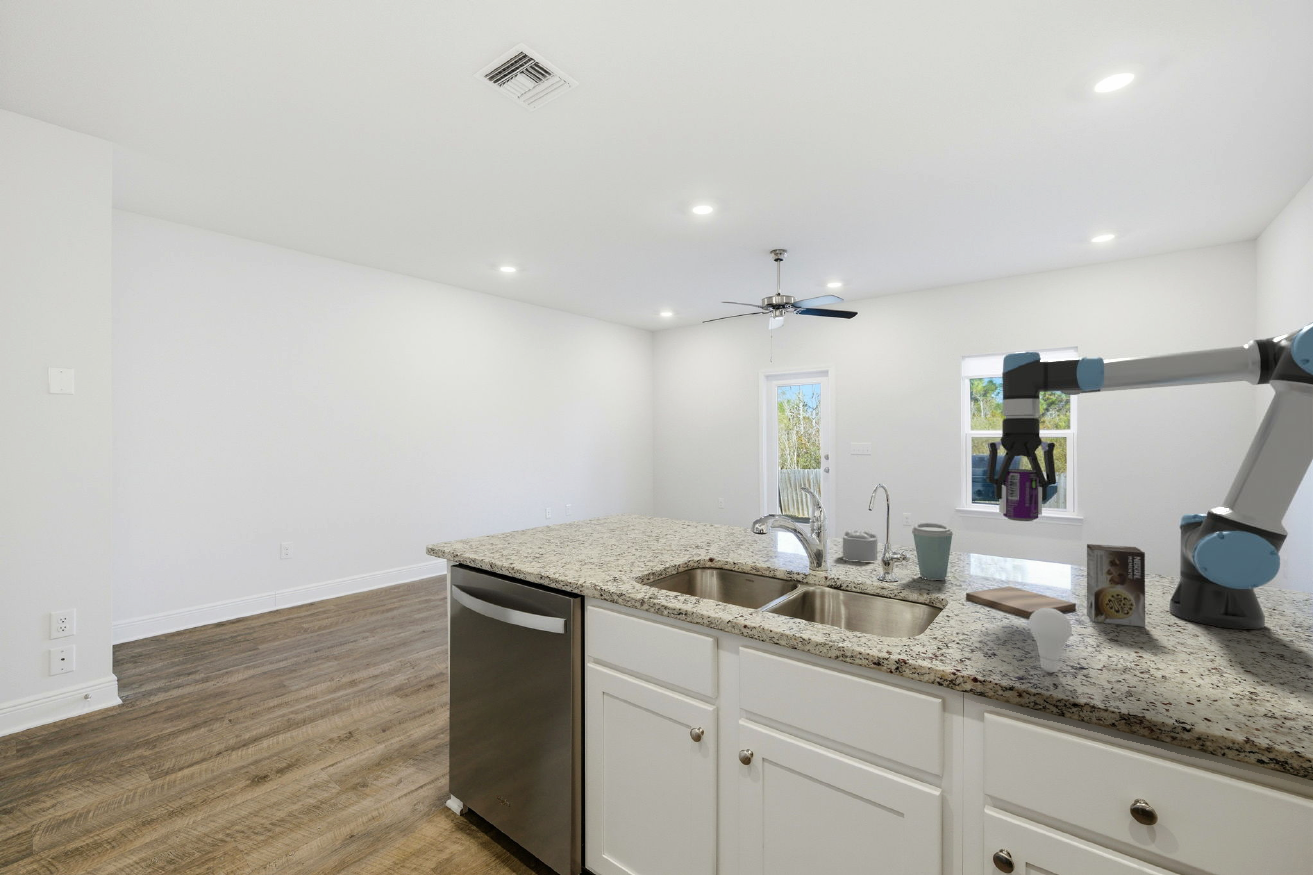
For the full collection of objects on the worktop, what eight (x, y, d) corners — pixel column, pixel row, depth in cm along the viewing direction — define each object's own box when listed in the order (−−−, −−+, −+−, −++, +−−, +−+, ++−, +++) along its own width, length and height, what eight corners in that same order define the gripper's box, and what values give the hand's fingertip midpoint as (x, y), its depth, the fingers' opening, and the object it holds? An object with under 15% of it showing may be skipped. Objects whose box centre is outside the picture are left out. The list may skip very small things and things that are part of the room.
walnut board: (1075, 609, 133) (1075, 603, 133) (1030, 618, 126) (1030, 611, 126) (1009, 591, 147) (1009, 586, 147) (965, 598, 141) (966, 592, 141)
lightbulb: (1020, 665, 101) (1020, 603, 101) (1052, 664, 102) (1052, 602, 101) (1046, 680, 95) (1047, 614, 95) (1080, 679, 95) (1081, 613, 95)
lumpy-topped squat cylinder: (840, 560, 184) (840, 533, 184) (847, 552, 195) (847, 527, 195) (874, 563, 179) (874, 536, 179) (879, 555, 191) (879, 529, 191)
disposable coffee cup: (959, 583, 155) (959, 529, 155) (917, 582, 157) (917, 527, 157) (945, 574, 166) (946, 522, 165) (906, 572, 167) (906, 521, 167)
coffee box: (1135, 619, 126) (1136, 546, 126) (1146, 628, 120) (1146, 552, 120) (1085, 613, 130) (1086, 542, 130) (1093, 621, 124) (1093, 548, 124)
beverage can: (1043, 522, 132) (1044, 470, 132) (1010, 521, 134) (1010, 470, 134) (1030, 517, 139) (1030, 468, 139) (998, 517, 141) (998, 468, 141)
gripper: (1062, 417, 137) (1061, 512, 137) (971, 418, 143) (970, 509, 143) (1075, 416, 130) (1074, 517, 130) (978, 417, 136) (978, 513, 136)
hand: (1020, 513), depth 137 cm, fingers closed on beverage can, 7 cm apart
